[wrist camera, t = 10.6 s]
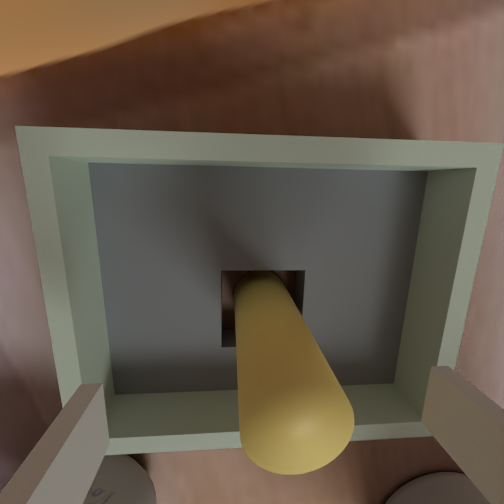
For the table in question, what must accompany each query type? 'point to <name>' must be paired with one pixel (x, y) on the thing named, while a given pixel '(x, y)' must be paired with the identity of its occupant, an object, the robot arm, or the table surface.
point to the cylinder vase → (438, 490)
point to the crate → (250, 266)
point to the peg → (284, 383)
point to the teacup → (121, 483)
